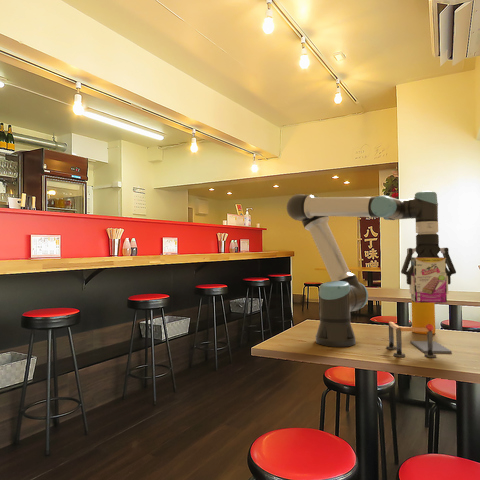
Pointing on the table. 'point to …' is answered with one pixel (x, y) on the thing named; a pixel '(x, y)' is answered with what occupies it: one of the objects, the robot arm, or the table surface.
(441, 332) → the table surface
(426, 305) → the beer bottle
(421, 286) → the candy bar box
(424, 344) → the mat
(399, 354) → the bent wire
